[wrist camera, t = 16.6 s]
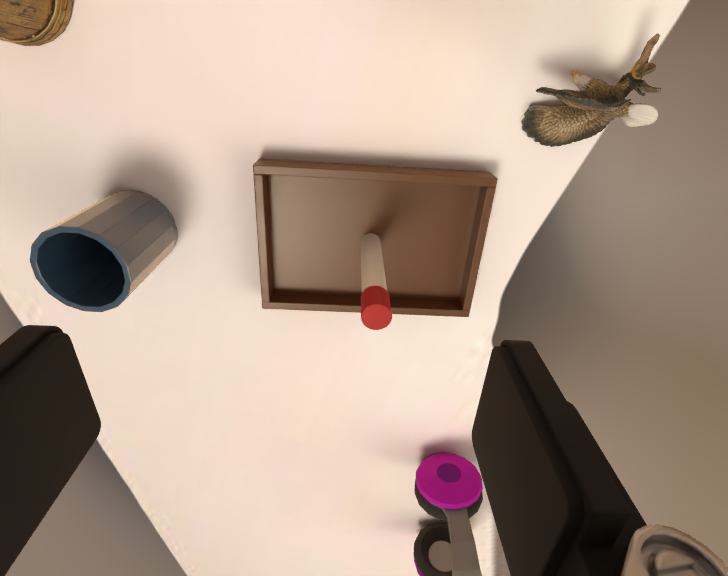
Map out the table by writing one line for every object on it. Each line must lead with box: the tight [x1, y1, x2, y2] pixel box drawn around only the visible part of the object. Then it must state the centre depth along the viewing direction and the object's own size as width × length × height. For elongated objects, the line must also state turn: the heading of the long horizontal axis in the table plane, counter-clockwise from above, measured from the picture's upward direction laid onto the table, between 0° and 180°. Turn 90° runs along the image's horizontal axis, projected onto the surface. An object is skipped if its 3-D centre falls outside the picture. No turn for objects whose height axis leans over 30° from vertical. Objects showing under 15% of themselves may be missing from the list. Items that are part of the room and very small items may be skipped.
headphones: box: [414, 453, 483, 576], centre depth 53 cm, size 21×9×20 cm, turn 3°
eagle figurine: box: [522, 34, 661, 147], centre depth 34 cm, size 8×7×9 cm
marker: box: [361, 233, 392, 330], centre depth 36 cm, size 2×2×14 cm
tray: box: [253, 159, 497, 317], centre depth 41 cm, size 15×22×3 cm
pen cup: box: [30, 190, 177, 312], centre depth 37 cm, size 7×7×10 cm
